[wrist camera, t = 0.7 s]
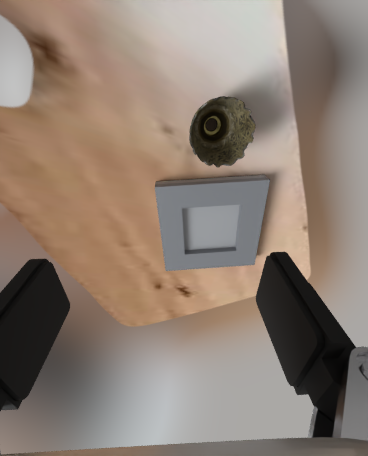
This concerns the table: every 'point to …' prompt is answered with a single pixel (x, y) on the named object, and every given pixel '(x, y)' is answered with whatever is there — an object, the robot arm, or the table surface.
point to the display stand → (211, 220)
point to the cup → (222, 131)
